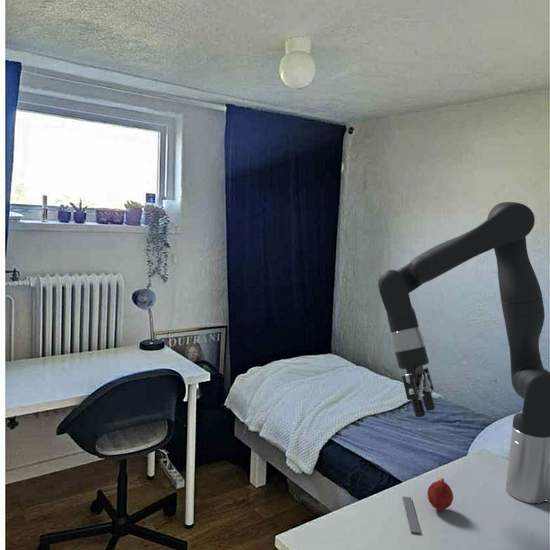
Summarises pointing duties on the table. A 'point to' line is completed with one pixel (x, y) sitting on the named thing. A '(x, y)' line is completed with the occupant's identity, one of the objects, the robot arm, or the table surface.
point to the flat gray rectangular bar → (411, 515)
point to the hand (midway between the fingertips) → (426, 413)
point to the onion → (440, 495)
